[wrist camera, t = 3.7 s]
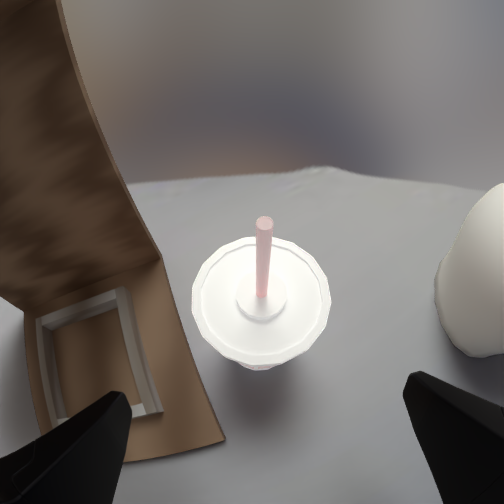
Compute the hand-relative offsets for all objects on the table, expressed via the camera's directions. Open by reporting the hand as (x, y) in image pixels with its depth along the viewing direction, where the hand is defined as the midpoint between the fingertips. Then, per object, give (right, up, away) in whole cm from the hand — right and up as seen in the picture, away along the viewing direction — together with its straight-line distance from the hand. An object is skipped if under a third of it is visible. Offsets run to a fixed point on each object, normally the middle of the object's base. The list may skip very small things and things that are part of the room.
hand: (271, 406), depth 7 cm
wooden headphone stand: (-13, -5, +11) cm, 17 cm away
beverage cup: (0, -2, +13) cm, 13 cm away
